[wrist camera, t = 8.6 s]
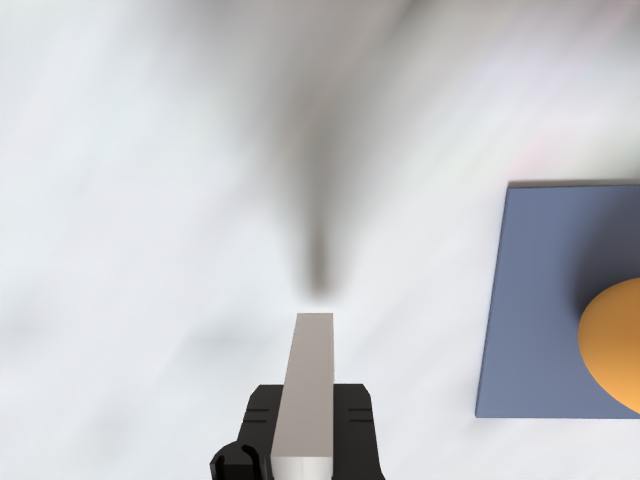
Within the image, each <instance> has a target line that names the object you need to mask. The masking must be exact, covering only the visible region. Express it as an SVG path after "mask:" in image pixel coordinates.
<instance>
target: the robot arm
mask: <svg viewBox="0 0 640 480" xmlns="http://www.w3.org/2000/svg"><path fill="white" fill-rule="evenodd" d="M210 470H211V475H212V480H385V478H384V476H383V474H382V472H381V468H380V463H379V456H378V449H377V441H376V434H375V426H374V419H373V411H372V404H371V397H370V394H369V393H368V391H367V390H366V388H365V387H364V385H363V384H334V331H333V313H297V319H296V324H295V329H294V335H293V340H292V345H291V350H290V356H289V361H288V366H287V372H286V377H285V382H284V385H259V386H258V387H257V389H256V390H255V391H254V392H253V393H252V395H251V396H250V399H249V402H248V405H247V409H246V412H245V415H244V418H243V423H242V425H241V428H240V432H239V435H238V438H237V441H235V442H232V443H230V444H228V445H226V446H224V447H223V448H221V449H220V450H219V451H218V452H217V453H216V454H215V455H214V457H213V459H212V461H211V462H210Z"/></svg>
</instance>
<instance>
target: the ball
mask: <svg viewBox="0 0 640 480" xmlns="http://www.w3.org/2000/svg"><path fill="white" fill-rule="evenodd" d="M578 345H579V349H580V353H581V356H582V358H583V361H584V363H585V365H586V367H587V369H588V370H589V372H590V373H591V375H592V376H593V377H594V379H595V380H596V381H597V383H598V384H599V385H600V386H601V387H602V388H603V389H604V390H605V391H606V392H608V393H609V394H610V395H611V396H612V397H613V398H615V399H616V400H617V401H619V402H620V403H622V404H624V405H625V406H627V407H628V408H630V409H631V410H633V411H635V412H637V413H639V414H640V278H634V279H630V280H626V281H623V282H620V283H618V284H615V285H613V286H611V287H609V288H607V289H605V290H604V291H602V292H601V293H600V294H598V295H597V296H596V297H595V298H594V299H593V300H592V301H591V302H590V303H589V305H588V306H587V307H586V309H585V311H584V312H583V314H582V316H581V319H580V322H579V328H578Z"/></svg>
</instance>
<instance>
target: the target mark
mask: <svg viewBox="0 0 640 480" xmlns="http://www.w3.org/2000/svg"><path fill="white" fill-rule="evenodd" d="M634 278H640V185H614V186H573V187H532V188H508V189H507V196H506V203H505V210H504V217H503V224H502V231H501V237H500V244H499V251H498V258H497V265H496V272H495V279H494V286H493V293H492V300H491V307H490V314H489V321H488V328H487V335H486V342H485V349H484V355H483V362H482V369H481V376H480V383H479V390H478V397H477V404H476V411H475V416H476V418H582V419H640V414H639V413H637V412H635V411H633V410H631V409H630V408H628V407H627V406H625V405H624V404H622V403H620V402H619V401H617V400H616V399H615V398H613V397H612V396H611V395H610V394H609V393H608V392H606V391H605V390H604V389H603V388H602V387H601V386H600V385H599V384H598V383H597V381H596V380H595V379H594V377H593V376H592V375H591V373H590V372H589V370H588V369H587V367H586V365H585V363H584V361H583V358H582V356H581V353H580V349H579V345H578V328H579V322H580V319H581V316H582V314H583V312H584V311H585V309H586V307H587V306H588V305H589V303H590V302H591V301H592V300H593V299H594V298H595V297H596V296H597V295H598V294H600V293H601V292H602V291H604V290H605V289H607V288H609V287H611V286H613V285H615V284H618V283H620V282H623V281H626V280H630V279H634Z"/></svg>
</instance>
